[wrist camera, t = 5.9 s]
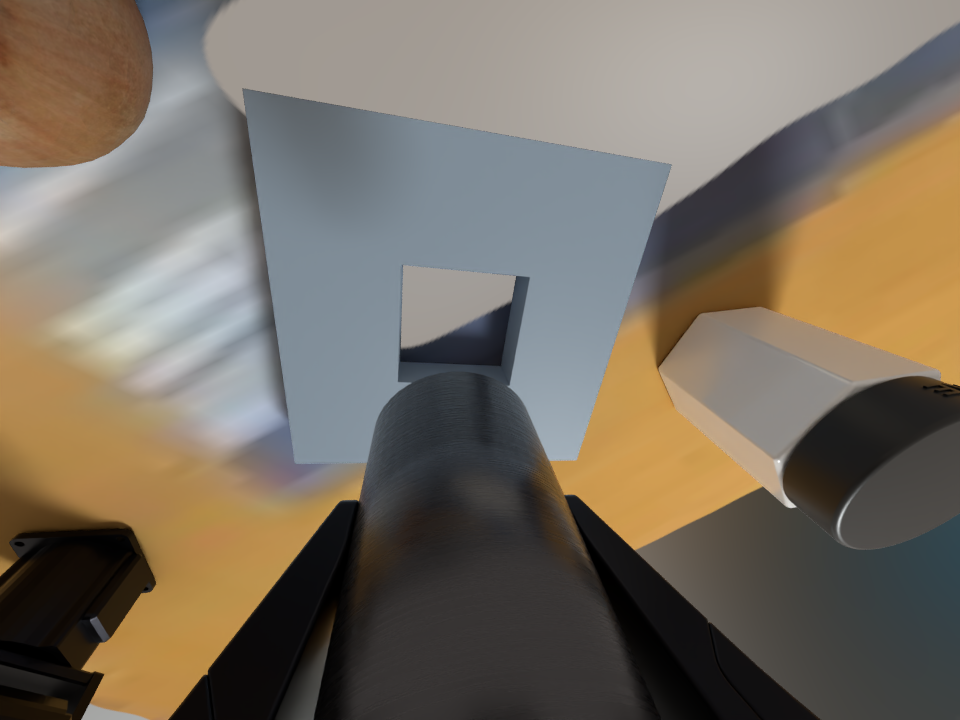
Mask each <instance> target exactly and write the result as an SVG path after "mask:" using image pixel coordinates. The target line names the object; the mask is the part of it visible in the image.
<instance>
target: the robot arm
mask: <svg viewBox="0 0 960 720" xmlns="http://www.w3.org/2000/svg"><path fill="white" fill-rule="evenodd" d="M564 496H565V498H566V501H567V503H568V505H569V508H570V510H571V512H572V514H573V517H574V519H575V521H576V524H577V526H578V528H579V531H580V533H581V535H582V537H583V540H584V542H585V544H586V547H587V549H588V551H589V554H590V556H591V558H592V560H593V563H594V565H595V567H596V570H597V572H598V574H599V577H600V579H601V581H602V583H603V586H604V588H605V590H606V593H607V595H608V597H609V600H610V602H611V604H612V606H613V609H614V611H615V613H616V616H617V618H618V620H619V623H620V625H621V627H622V629H623V632H624V634H625V636H626V639H627V641H628V643H629V646H630V648H631V650H632V652H633V655H634V657H635V659H636V662H637V664H638V666H639V669H640V671H641V673H642V675H643V678H644V680H645V682H646V685H647V687H648V689H649V691H650V694H651V696H652V698H653V701H654V703H655V705H656V708H657V710H658V712H659V714H660V717H661V719H662V720H821V719H819V718H818V717H817V716H816V715H815V714H813V713H812V712H811V711H810V710H809V709H807V708H806V707H805V706H804V705H803V704H802V703H800V702H799V701H798V700H797V699H796V698H794V697H793V696H792V695H791V694H790V693H789V692H787V691H786V690H785V689H784V688H783V687H782V686H780V685H779V684H778V683H777V682H776V681H775V680H774V679H772V678H771V677H770V676H769V675H768V674H767V673H765V672H764V671H763V670H762V669H761V668H760V667H758V666H757V665H756V664H755V663H754V662H753V661H752V660H751V659H750V658H749V657H748V656H746V655H745V654H744V653H743V652H742V651H741V650H740V649H739V648H738V647H737V646H735V645H734V644H733V643H732V642H731V641H730V640H729V639H728V638H727V637H726V636H725V635H724V634H723V633H721V631H719V630H718V629H717V628H716V627H715V626H714V625H713V624H712V623H710V622H709V623H708V620H707V618H706V617H704V616H703V615H702V614H701V613H700V612H699V611H698V610H697V609H696V608H695V607H694V606H693V605H692V604H691V603H690V602H689V601H687V600H686V599H685V598H684V597H683V596H682V595H681V594H680V593H679V592H678V591H677V590H676V589H675V588H674V587H672V585H670V583H668V582H667V581H666V580H665V579H664V578H663V577H662V576H661V575H660V574H659V573H658V572H657V571H656V570H655V569H654V568H653V567H652V566H650V565H649V564H648V563H647V562H646V561H645V560H644V559H643V558H642V557H641V556H640V555H639V554H638V553H637V552H636V551H635V550H634V549H632V548H631V547H630V546H629V545H628V544H627V543H626V542H625V541H624V540H623V539H622V538H621V537H620V536H619V535H618V534H617V533H616V532H614V531H613V530H612V529H611V528H610V527H609V526H608V525H607V524H606V523H605V522H604V521H603V520H602V519H601V518H600V517H599V516H598V515H596V514H595V513H594V512H593V511H592V510H591V509H590V508H589V507H588V506H587V505H586V504H585V503H584V502H583V501H582V500H581V499H580V498H578V497H577V496H575V495H564ZM358 505H359V501H357V500H343V501H341V502H339V503H338V504H337V505H336V507H335V508H334V509H333V511H332V512H331V513H330V514H329V516H328V517H327V518H326V519H325V521H324V522H323V523H322V525H321V526H320V527H319V528H318V530H317V531H316V532H315V534H314V535H313V536H312V537H311V539H310V540H309V541H308V543H307V544H306V545H305V546H304V548H303V549H302V550H301V551H300V553H299V554H298V555H297V557H296V558H295V559H294V560H293V562H292V563H291V564H290V566H289V567H288V568H287V569H286V571H285V572H284V573H283V575H282V576H281V577H280V578H279V580H278V581H277V582H276V583H275V585H274V586H273V587H272V589H271V590H270V591H269V592H268V594H267V595H266V596H265V598H264V599H263V600H262V601H261V603H260V604H259V605H258V606H257V608H256V609H255V610H254V612H253V613H252V614H251V615H250V617H249V618H248V619H247V621H246V622H245V623H244V624H243V626H242V627H241V628H240V630H239V631H238V632H237V633H236V635H235V636H234V637H233V638H232V640H231V641H230V642H229V644H228V645H227V646H226V647H225V649H224V650H223V651H222V653H221V654H220V655H219V656H218V658H217V659H216V660H215V661H214V663H213V664H212V665H211V667H210V668H209V669H208V675H204V676H203V677H202V678H201V679H200V680H199V682H198V683H197V684H196V685H195V687H194V688H193V689H192V691H191V692H190V693H189V694H188V696H187V697H186V698H185V700H184V701H183V702H182V703H181V705H180V706H179V707H178V708H177V710H176V711H175V712H174V713H173V715H172V716H171V717H170V718H169V719H168V720H313V718H314V714H315V709H316V704H317V699H318V694H319V690H320V685H321V680H322V675H323V671H324V666H325V661H326V656H327V652H328V647H329V642H330V637H331V633H332V628H333V623H334V618H335V614H336V609H337V604H338V599H339V595H340V590H341V585H342V580H343V575H344V571H345V566H346V562H347V557H348V552H349V548H350V543H351V538H352V533H353V528H354V524H355V519H356V514H357V509H358ZM9 543H10V545H11V547H12V548H13V550H14V551H15V553H16V554H17V555H18V557H19V558H20V559H18V560H17V561H16V562H15V563H14V564H13V565H12V566H11V567H10V568H9V569H8V570H7V571H6V572H5V573H3V574H2V575H1V576H0V720H81V719H82V717H83V715H84V713H85V711H86V709H87V707H88V705H89V703H90V701H91V699H92V697H93V696H94V694H95V692H96V690H97V688H98V686H99V684H100V682H101V680H102V678H103V676H104V674H103V673H99V672H96V671H95V672H93V673H91V672H87V671H84V670H81V669H82V668H83V666H84V665H85V663H86V662H87V661H88V659H89V658H90V656H91V655H92V653H93V652H94V651H95V649H96V648H97V646H98V645H99V643H102V642H106V641H107V640H109V639H110V638H111V637H112V635H113V634H114V632H115V631H116V629H117V628H118V626H119V625H120V624H121V622H122V621H123V619H124V618H125V616H126V615H127V613H128V612H129V610H130V609H131V607H132V606H133V604H134V603H135V602H136V600H137V599H138V597H139V596H140V594H141V593H148V592H151V591H152V590H153V588H154V587H155V585H156V581H155V579H154V577H153V575H152V573H151V571H150V568H149V566H148V564H147V562H146V560H145V558H144V555H143V553H142V551H141V549H140V547H139V544H138V542H137V540H136V538H135V536H134V534H133V532H131V531H130V530H127V529H114V530H90V531H67V532H44V533H22V534H18V535H16V536H15V537H14V538H13V539H12V540H11V541H10V542H9Z"/></svg>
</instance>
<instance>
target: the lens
mask: <svg viewBox="0 0 960 720" xmlns="http://www.w3.org/2000/svg"><path fill="white" fill-rule="evenodd" d="M313 720H662V719H661V717H660V714H659V712H658V710H657V708H656V705H655V703H654V701H653V698H652V696H651V694H650V691H649V689H648V687H647V685H646V682H645V680H644V678H643V675H642V673H641V671H640V669H639V666H638V664H637V662H636V659H635V657H634V655H633V652H632V650H631V648H630V646H629V643H628V641H627V639H626V636H625V634H624V632H623V629H622V627H621V625H620V623H619V620H618V618H617V616H616V613H615V611H614V609H613V606H612V604H611V602H610V600H609V597H608V595H607V593H606V590H605V588H604V586H603V583H602V581H601V579H600V577H599V574H598V572H597V570H596V567H595V565H594V563H593V560H592V558H591V556H590V554H589V551H588V549H587V547H586V544H585V542H584V540H583V537H582V535H581V533H580V531H579V528H578V526H577V524H576V521H575V519H574V517H573V514H572V512H571V510H570V508H569V505H568V503H567V501H566V498H565V496H564V494H563V491H562V489H561V487H560V485H559V482H558V480H557V478H556V475H555V473H554V471H553V468H552V466H551V464H550V462H549V459H548V457H547V455H546V452H545V450H544V448H543V446H542V443H541V441H540V439H539V436H538V434H537V432H536V429H535V427H534V425H533V423H532V420H531V418H530V416H529V413H528V411H527V409H526V407H525V405H524V403H523V402H522V400H521V399H520V398H519V396H518V395H517V394H516V393H515V392H514V391H513V390H512V389H511V388H509V387H508V386H506V385H505V384H503V383H502V382H500V381H498V380H496V379H494V378H491V377H488V376H485V375H482V374H477V373H472V372H445V373H438V374H434V375H430V376H427V377H424V378H422V379H419V380H417V381H415V382H413V383H411V384H409V385H407V386H406V387H404V388H403V389H401V390H400V391H398V392H397V393H396V394H395V395H394V396H393V397H392V398H391V399H390V400H389V401H388V402H387V403H386V405H385V406H384V407H383V409H382V411H381V412H380V414H379V416H378V419H377V421H376V424H375V428H374V433H373V437H372V442H371V447H370V452H369V456H368V461H367V466H366V471H365V475H364V480H363V485H362V490H361V495H360V499H359V505H358V509H357V514H356V519H355V524H354V528H353V533H352V538H351V543H350V548H349V552H348V557H347V562H346V566H345V571H344V575H343V580H342V585H341V590H340V595H339V599H338V604H337V609H336V614H335V618H334V623H333V628H332V633H331V637H330V642H329V647H328V652H327V656H326V661H325V666H324V671H323V675H322V680H321V685H320V690H319V694H318V699H317V704H316V709H315V714H314V718H313Z"/></svg>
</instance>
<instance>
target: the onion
mask: <svg viewBox="0 0 960 720" xmlns="http://www.w3.org/2000/svg"><path fill="white" fill-rule="evenodd" d="M152 79H153V62H152V52H151V47H150V42H149V38H148V34H147V30H146V27H145V24H144V20H143V18H142V16H141V14H140V11H139V9H138V7H137V5H136V2H135V0H0V166H10V167H22V168H32V167H58V166H69V165H75V164H80V163H84V162H89V161H93V160H95V159H97V158H99V157H101V156H104V155H106V154H108V153H110V152H111V151H112V150H114V149H115V148H117V147H118V146H120V145H121V144H122V143H123V142H124V141H125V140H126V139H128V138H129V137H130V136H131V135H132V134H133V133H134V132H135V131H136V130H137V128H138V127H139V125H140V124H141V122H142V121H143V119H144V117H145V114H146V111H147V108H148V105H149V102H150V96H151V91H152Z"/></svg>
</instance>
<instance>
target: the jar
mask: <svg viewBox="0 0 960 720" xmlns="http://www.w3.org/2000/svg"><path fill="white" fill-rule="evenodd" d="M658 370H659V373H660V375H661V377H662V379H663V382H664V384H665V386H666V388H667V391H668V393H669V395H670V397H671V400H672V402H673V404H674V406H675V409H676V410H677V411H678V412H679V413H680V414H681V415H683V416H684V417H685V418H686V419H687V420H688V421H689V422H691V423H692V424H693V425H694V426H695V427H696V428H697V429H699V430H700V431H701V432H702V433H703V434H704V435H705V436H707V437H708V438H709V439H710V440H711V441H712V442H713V443H714V444H716V445H717V446H718V447H719V448H720V449H721V450H722V451H724V452H725V453H726V454H727V455H728V456H729V457H730V458H732V459H733V460H734V461H735V462H736V463H737V464H738V465H740V466H741V467H742V468H743V469H744V470H745V471H746V472H748V473H749V474H750V475H751V476H752V477H753V478H754V479H755V480H757V481H758V482H759V483H760V484H761V485H762V486H763V487H765V488H766V489H767V490H768V491H769V492H770V493H772V494H773V495H774V496H775V497H776V498H777V499H778V500H779V501H781V502H782V503H783V504H784V505H785V506H787V507H789V508H794V507H798V508H799V509H800V510H801V511H802V512H804V513H805V514H806V515H807V516H808V517H809V518H810V519H812V520H813V521H814V522H815V523H816V524H818V525H819V526H820V527H821V528H822V529H823V530H824V531H826V532H827V533H828V534H829V535H830V536H831V537H833V538H834V539H835V540H836V541H837V542H839V543H840V544H842V545H844V546H846V547H849V548H853V549H865V550H866V549H878V548H883V547H888V546H892V545H895V544H898V543H901V542H904V541H907V540H910V539H912V538H915V537H917V536H919V535H922V534H924V533H926V532H928V531H930V530H932V529H934V528H936V527H937V526H939V525H941V524H943V523H944V522H946V521H948V520H950V519H951V518H953V517H954V516H956V515H957V514H959V513H960V386H958V385H950V384H947V383H944V382H941V381H940V378H941V373H940V371H939V370H937V369H935V368H932V367H929V366H926V365H923V364H920V363H918V362H915V361H912V360H909V359H906V358H904V357H901V356H898V355H895V354H892V353H890V352H887V351H884V350H881V349H878V348H875V347H873V346H870V345H867V344H864V343H861V342H859V341H856V340H853V339H850V338H847V337H845V336H842V335H839V334H836V333H833V332H831V331H828V330H825V329H822V328H819V327H817V326H814V325H811V324H808V323H805V322H803V321H800V320H797V319H794V318H791V317H789V316H786V315H783V314H780V313H777V312H774V311H772V310H769V309H766V308H763V307H752V308H743V309H735V310H726V311H717V312H708V313H701V314H699V315H698V316H697V318H696V319H695V320H694V322H693V323H692V324H691V326H690V327H689V328H688V330H687V331H686V332H685V333H684V335H683V336H682V337H681V339H680V340H679V341H678V343H677V344H676V345H675V347H674V348H673V349H672V351H671V352H670V353H669V355H668V356H667V357H666V358H665V360H664V361H663V362H662V364H661V365H660V366H659V368H658Z"/></svg>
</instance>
